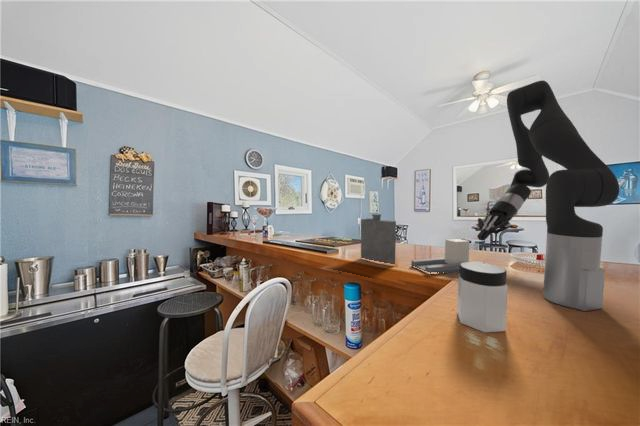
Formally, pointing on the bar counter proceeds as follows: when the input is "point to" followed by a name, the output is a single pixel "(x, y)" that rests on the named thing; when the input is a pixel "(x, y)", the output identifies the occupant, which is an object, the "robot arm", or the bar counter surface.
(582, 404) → the bar counter surface
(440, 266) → the chute
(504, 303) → the jar
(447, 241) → the block
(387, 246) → the hip flask
